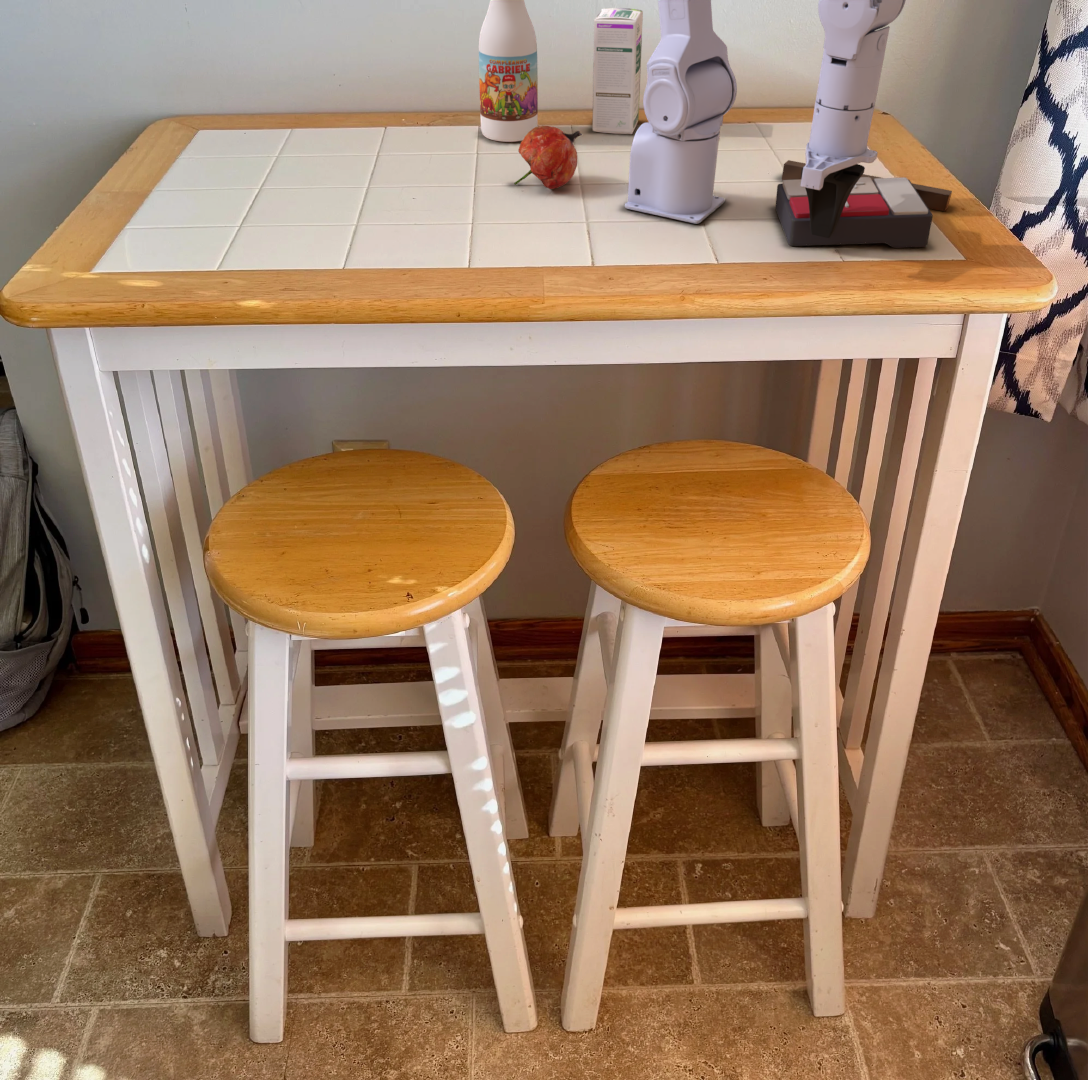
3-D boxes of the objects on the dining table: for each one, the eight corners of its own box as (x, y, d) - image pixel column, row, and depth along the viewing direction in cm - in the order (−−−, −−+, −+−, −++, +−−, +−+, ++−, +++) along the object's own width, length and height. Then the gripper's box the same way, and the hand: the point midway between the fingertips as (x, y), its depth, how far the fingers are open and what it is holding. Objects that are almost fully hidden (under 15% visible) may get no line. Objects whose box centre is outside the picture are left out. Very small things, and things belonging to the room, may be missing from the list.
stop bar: (781, 180, 129) (783, 163, 128) (785, 176, 130) (788, 159, 129) (944, 212, 122) (949, 195, 120) (948, 207, 123) (952, 190, 121)
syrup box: (633, 135, 142) (639, 19, 133) (590, 132, 143) (593, 16, 134) (638, 122, 147) (645, 8, 137) (597, 119, 147) (600, 6, 138)
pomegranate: (525, 215, 126) (592, 168, 121) (488, 163, 123) (556, 113, 119) (537, 199, 132) (601, 154, 128) (502, 149, 130) (567, 101, 125)
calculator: (777, 176, 120) (910, 171, 119) (774, 213, 123) (904, 208, 122) (792, 213, 111) (935, 208, 111) (788, 252, 114) (928, 247, 113)
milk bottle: (474, 127, 144) (468, -35, 132) (528, 122, 146) (527, -38, 134) (489, 146, 139) (484, -22, 126) (544, 140, 140) (545, -26, 128)
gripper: (862, 129, 96) (836, 267, 105) (905, 89, 106) (878, 219, 115) (789, 117, 99) (769, 252, 108) (838, 79, 109) (816, 206, 118)
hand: (821, 234), depth 111 cm, fingers closed
